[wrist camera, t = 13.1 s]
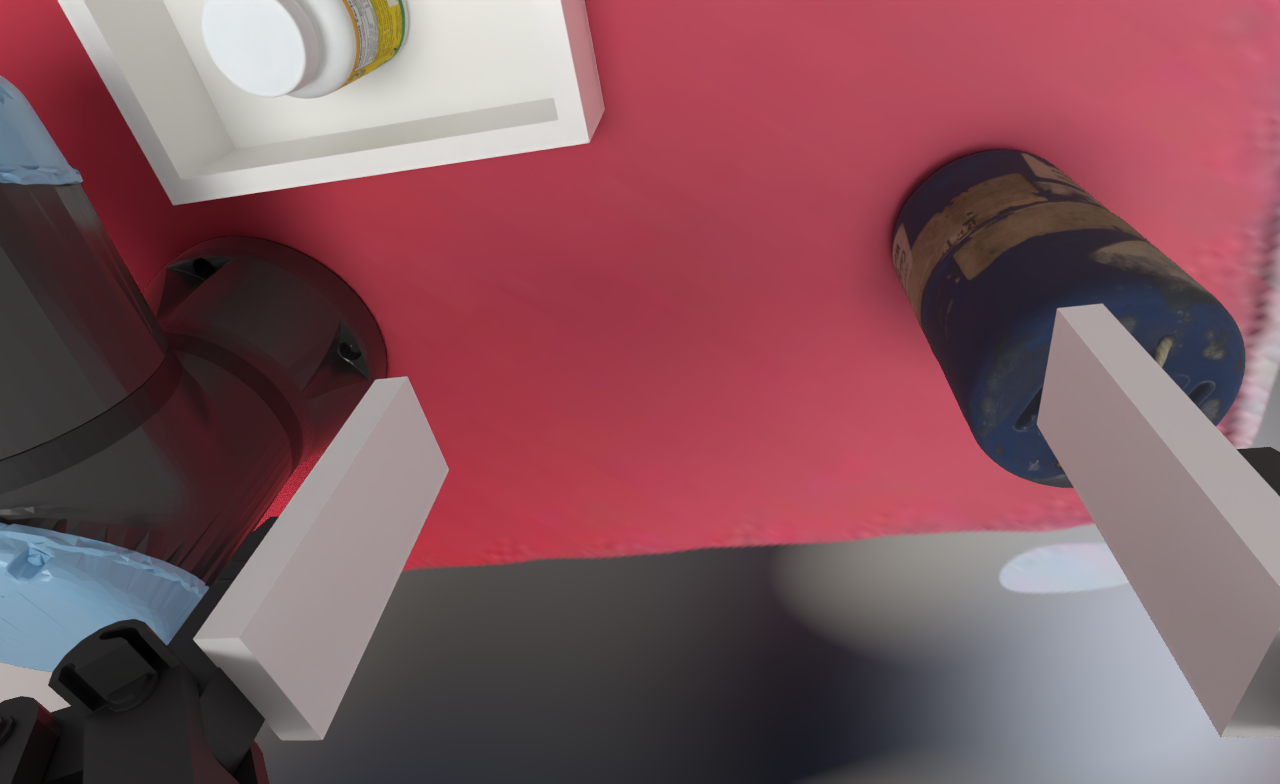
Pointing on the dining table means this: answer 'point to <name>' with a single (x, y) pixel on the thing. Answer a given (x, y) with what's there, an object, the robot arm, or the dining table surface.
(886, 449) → the dining table surface
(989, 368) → the canister
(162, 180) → the tote
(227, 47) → the supplement bottle
